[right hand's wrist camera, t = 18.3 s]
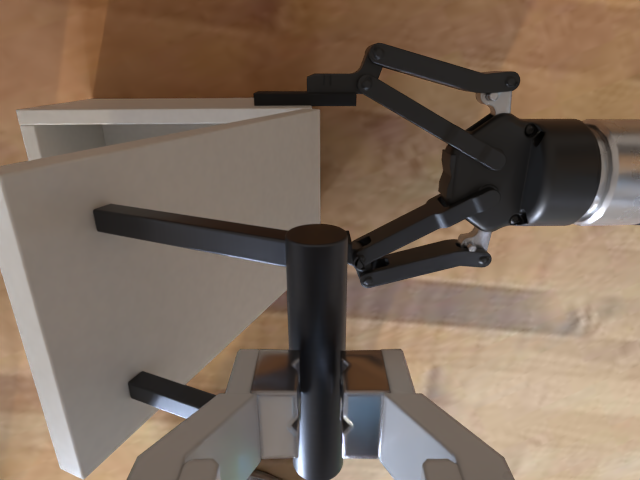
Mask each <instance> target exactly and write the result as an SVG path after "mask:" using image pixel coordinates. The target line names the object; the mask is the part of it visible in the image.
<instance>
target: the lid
mask: <svg viewBox="0 0 640 480" xmlns="http://www.w3.org/2000/svg"><path fill="white" fill-rule="evenodd" d="M347 253H348V235H347V232H346V231H345V230H343V229H342V228H340V227H337V226H333V225H327V224H320V109H300V110H294V111H289V112H284V113H279V114H273V115H268V116H263V117H257V118H252V119H247V120H242V121H236V122H231V123H226V124H220V125H215V126H210V127H205V128H199V129H194V130H189V131H183V132H178V133H173V134H168V135H162V136H157V137H152V138H146V139H141V140H136V141H130V142H125V143H120V144H115V145H109V146H104V147H99V148H93V149H88V150H83V151H78V152H72V153H67V154H62V155H56V156H51V157H46V158H41V159H35V160H30V161H25V162H19V163H14V164H9V165H4V166H0V269H1V272H2V275H3V279H4V282H5V285H6V289H7V292H8V296H9V299H10V302H11V306H12V309H13V312H14V316H15V319H16V322H17V326H18V329H19V332H20V336H21V339H22V342H23V346H24V349H25V352H26V356H27V359H28V362H29V366H30V369H31V372H32V376H33V379H34V382H35V386H36V389H37V392H38V396H39V399H40V402H41V406H42V409H43V412H44V416H45V419H46V422H47V426H48V429H49V432H50V436H51V439H52V442H53V446H54V449H55V452H56V456H57V459H58V463H59V466H60V468H61V469H62V470H65V471H67V472H69V473H71V474H73V475H75V476H77V477H79V478H81V479H85V478H86V477H87V476H88V475H89V474H90V473H91V472H92V471H94V470H95V469H96V468H97V467H98V466H99V465H100V464H101V463H102V462H103V461H104V460H105V459H106V458H107V457H109V456H110V455H111V454H112V453H113V452H114V451H115V450H116V449H117V448H118V447H119V446H120V445H121V444H122V443H124V442H125V441H126V440H127V439H128V438H129V437H130V436H131V435H132V434H133V433H134V432H135V431H136V430H137V429H139V428H140V427H141V426H142V425H143V424H144V423H145V422H146V421H147V420H148V419H149V418H150V417H151V416H152V415H153V414H155V413H156V412H157V411H158V410H159V409H161V410H164V411H167V412H170V413H172V414H175V415H178V416H180V417H183V418H186V419H187V418H188V417H189V416H191V415H192V414H193V413H195V412H196V411H197V410H199V409H200V408H201V407H202V406H204V405H205V404H206V403H208V402H209V401H210V400H211V399H213V398H214V397H215V396H217V395H214V394H211V393H208V392H205V391H202V390H199V389H196V388H193V387H190V386H187V385H186V384H187V383H188V382H189V381H190V380H191V379H192V378H193V377H194V376H195V375H196V374H197V373H198V372H200V371H201V370H202V369H203V368H204V367H205V366H206V365H207V364H208V363H209V362H210V361H211V360H212V359H213V358H215V357H216V356H217V355H218V354H219V353H220V352H221V351H222V350H223V349H224V348H225V347H226V346H227V345H228V344H229V343H231V342H232V341H233V340H234V339H235V338H236V337H237V336H238V335H239V334H240V333H241V332H242V331H243V330H244V329H246V328H247V327H248V326H249V325H250V324H251V323H252V322H253V321H254V320H255V319H256V318H257V317H258V316H259V315H261V314H262V313H263V312H264V311H265V310H266V309H267V308H268V307H269V306H270V305H271V304H272V303H273V302H274V301H276V300H277V299H278V298H279V297H280V296H281V295H282V294H283V293H284V292H285V291H286V290H287V307H288V335H289V350H300V351H301V376H300V379H301V420H300V441H299V457H298V458H293V465H294V468H295V470H296V472H297V473H298V474H299V475H300V476H301V477H302V478H304V479H306V480H330V479H332V478H334V477H335V476H336V475H337V474H338V473H339V472H340V470H341V468H342V465H343V458H342V444H341V420H340V409H339V380H340V351H344V350H345V348H346V301H347Z"/></svg>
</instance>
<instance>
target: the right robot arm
mask: <svg viewBox="0 0 640 480" xmlns="http://www.w3.org/2000/svg"><path fill="white" fill-rule="evenodd" d="M300 376H301V351H300V350H274V349H260V350H259V349H240V350H239V351H238V352H237V355H236V358H235V362H234V365H233V368H232V372H231V375H230V379H229V382H228V385H227V389H226V392H225V393H220V394H218V395H217V396H215V397H214V398H213V399H211V400H210V401H209V402H208V403H206V404H205V405H204V406H202V407H201V408H200V409H199V410H197V411H196V412H195V413H193V414H192V415H191V416H189V417H188V418H187V419H186V420H184V421H183V422H182V423H180V424H179V425H178V426H177V427H175V428H174V429H173V430H171V431H170V432H169V433H168V434H166V435H165V436H164V437H162V438H161V439H160V440H159V441H157V442H156V443H155V444H153V445H152V446H151V447H150V448H148V449H147V450H146V451H144V452H143V453H142V454H140V455H139V456H138V457H137V459H136V461H135V463H134V465H133V467H132V469H131V471H130V474H129V476H128V478H127V480H247V479H248V477H249V476H250V475H251V473H252V472H253V471H254V470H255V468H256V467H257V466H258V464H259V463H260V462H261V459H279V458H298V457H299V441H300V420H301V379H300ZM339 409H340V420H341V444H342V458H361V459H380V462H381V463H382V464H383V466H384V467H385V468H386V469H387V471H388V472H389V473H390V475H391V476H392V477H393V478H394V480H515V479H514V477H513V475H512V473H511V471H510V469H509V467H508V465H507V463H506V460H505V458H504V457H503V456H502V455H500V454H499V453H498V452H496V451H495V450H494V449H493V448H491V447H490V446H489V445H487V444H486V443H485V442H483V441H482V440H481V439H480V438H478V437H477V436H476V435H474V434H473V433H472V432H471V431H469V430H468V429H467V428H465V427H464V426H463V425H462V424H460V423H459V422H458V421H456V420H455V419H454V418H453V417H451V416H450V415H449V414H447V413H446V412H445V411H444V410H442V409H441V408H440V407H438V406H437V405H436V404H435V403H433V402H432V401H431V400H429V399H428V398H427V397H426V396H424V395H423V394H421V393H415V389H414V386H413V383H412V379H411V376H410V373H409V370H408V366H407V363H406V360H405V356H404V353H403V351H402V350H401V349H382V350H344V351H340V380H339Z"/></svg>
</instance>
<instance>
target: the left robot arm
mask: <svg viewBox="0 0 640 480" xmlns="http://www.w3.org/2000/svg"><path fill="white" fill-rule="evenodd" d="M382 67H383V68H387V69H390V70H394V71H397V72H400V73H404V74H407V75H411V76H414V77H418V78H421V79H424V80H428V81H431V82H435V83H438V84H442V85H445V86H448V87H452V88H455V89H459V90H463V91H469V92H475V93H476V99H477V101H478V102H479V103H481V104H486V105H487V106H488V107H489V108H490V111H491V113H490V114H488V115H487V116H486V117H484V118H483V119H481V120H480V121H478V122H477V123H475V124H474V125H472V126H471V127H470V128H468V129H467V130H463V129H461V128H460V127H458V126H456V125H454V124H452V123H450V122H449V121H447V120H445V119H444V118H442V117H440V116H439V115H437V114H435V113H434V112H432V111H430V110H429V109H427V108H425V107H424V106H422V105H420V104H419V103H417V102H415V101H414V100H412V99H410V98H409V97H407V96H405V95H404V94H402V93H400V92H399V91H397V90H395V89H394V88H392V87H390V86H389V85H387V84H385V83H384V82H382V81H380V80H379V79H378V78H379V75H380V72H381V70H382ZM519 83H520V77H519V75H518V74H517V73H516V72H511V71H492V72H482V73H480V72H476V71H473V70H470V69H466V68H463V67H460V66H456V65H453V64H450V63H446V62H443V61H440V60H436V59H433V58H430V57H426V56H423V55H420V54H416V53H413V52H409V51H406V50H403V49H399V48H396V47H393V46H389V45H386V44H383V43H376V44H373V45H371V46H369V47H368V48H367V49H366V51H365V55H364V58H363V61H362V63H361V66H360V68H359V69H358V70H357V71H356V72H354V73H350V74H312V75H310V76H308V77H307V91H258V92H256V93H254V106H356V94H364V95H366V96H367V97H369V98H371V99H372V100H374V101H376V102H378V103H379V104H381V105H383V106H384V107H386V108H388V109H390V110H391V111H393V112H395V113H396V114H398V115H400V116H401V117H403V118H405V119H407V120H408V121H410V122H412V123H413V124H415V125H417V126H419V127H420V128H422V129H424V130H425V131H427V132H429V133H430V134H432V135H434V136H435V137H437V138H439V139H441V140H442V141H444V142H446V143H447V144H448V145H447V147H446V149H445V150H443V152H442V165H443V173H442V176H441V179H440V181H439V192H440V193H441V194H439V195H437V196H435V197H433V198H431V199H429V200H428V201H427V203H426V204H424V205H423V206H421V207H419V208H417V209H415V210H413V211H411V212H409V213H407V214H405V215H403V216H401V217H399V218H397V219H395V220H393V221H391V222H389V223H387V224H385V225H383V226H381V227H379V228H377V229H375V230H374V231H372V232H370V233H368V234H366V235H364V236H362V237H360V238H358V239H356V240H354V241H353V242H351V238H350V233H349V231H346V232H347V235H348V253H347V264H350V265H352V266H354V268H355V269H356V271H357V274H358V276H359V279H360V283H361V285H362V286H363V287H365V288H371V287H375V286H379V285H383V284H387V283H391V282H395V281H400V280H404V279H408V278H412V277H416V276H420V275H424V274H428V273H432V272H436V271H440V270H444V269H448V268H453V267H457V266H470V267H486V266H488V265H489V264H490V262H491V255H490V254H489V253H488V252H487V249H488V245H489V241H490V237H491V233H492V232H493V231H496V230H498V229H500V228H502V227H505V226H509V225H514V226H566V225H570V224H574V225H579V226H595V225H640V120H637V119H586V120H583V121H580V120H577V119H519V118H517V117H516V116H514V115H512V114H510V112H511V97H512V91H513V90H515V89H516V88H517V87H518V86H519ZM464 219H466V220H467V221H468V222H470V223H471V224H472V225H474V226H475V227H474V229H473V230H472V231H471V232H469V233H466V234H461V235H459V237H458V239H451V240H444V241H440V242H436V243H432V244H428V245H424V246H420V247H416V248H412V249H408V250H404V251H400V252H396V253H392V254H389V253H391V252H393V251H395V250H397V249H399V248H401V247H403V246H405V245H407V244H409V243H411V242H413V241H415V240H417V239H419V238H421V237H423V236H425V235H427V234H429V233H431V232H433V231H435V230H437V229H439V228H447V227H450V226H452V225H454V224H456V223H458V222H460V221H462V220H464ZM387 254H388V255H387ZM247 480H280V479H278V478H276V477H274V476H272V475H270V474H268V473H265V472H262V471H258V470H254V471H253V472H252V473H251V475H250V476H249V477H248V479H247Z"/></svg>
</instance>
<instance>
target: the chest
mask: <svg viewBox="0 0 640 480" xmlns="http://www.w3.org/2000/svg"><path fill="white" fill-rule="evenodd" d="M300 109H312V106H254V98H141V99H87V100H80V101H73V102H66V103H60V104H53V105H46V106H39V107H32V108H25V109H18V110H16V113H17V117H18V121H19V124H20V128H21V132H22V136H23V140H24V144H25V148H26V152H27V156H28V160H29V161H30V160H35V159H41V158H46V157H51V156H56V155H62V154H67V153H72V152H78V151H83V150H88V149H93V148H99V147H104V146H109V145H115V144H120V143H125V142H130V141H136V140H141V139H146V138H152V137H157V136H162V135H168V134H173V133H178V132H183V131H189V130H194V129H199V128H205V127H210V126H215V125H220V124H226V123H231V122H236V121H242V120H247V119H252V118H257V117H263V116H268V115H273V114H279V113H284V112H289V111H294V110H300Z"/></svg>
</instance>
